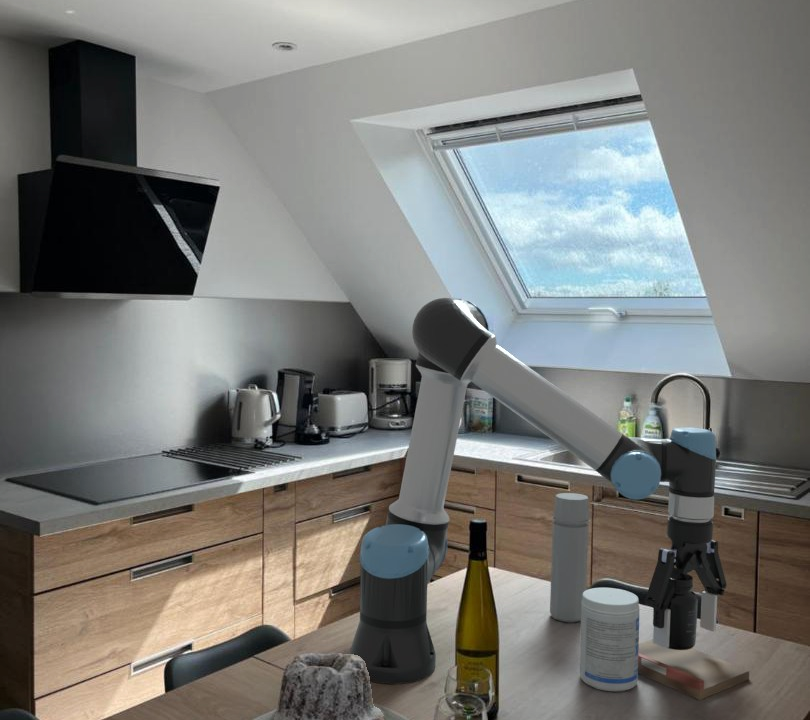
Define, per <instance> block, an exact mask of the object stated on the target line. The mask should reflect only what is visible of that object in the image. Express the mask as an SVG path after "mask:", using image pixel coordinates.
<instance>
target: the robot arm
mask: <svg viewBox="0 0 810 720" xmlns="http://www.w3.org/2000/svg"><path fill="white" fill-rule="evenodd" d="M488 323H489V322H488V320H487V318H486V315H485V314H484V313H483V311H482V309H480V308H479V307H478V306H477V305H476V304H474V302H471V301H470V300H465V299H463V298H455V297H453V298H452V297H451V298H450V297H441V298H440V297H439V298H436V299H434V300H433V299H432V300H431V301H428V302H427V303H426V304H424V305H423V306H422V307H421V308H420V309H419V311H418V312H417V313H416V315H415V317H414V319H413V323H412V339H413V342H414V344H415V347H416V349H417V350H418V352H417V356H416V362H415V367H416V369H417V370H418V372H419V373H420V376H421V380H420V384H419V385H420V386H419V390H418V396H417V400H416V405H415V412H414V417H413V422H412V428H411V433H410V438H409V443H408V449H407V453H406V459H405V465H404V469H403V470H404V471H403V475H402V481H401V487H400V489H399V490H400V492H399V497H398V499H397V500H396V501H394V502H392V503H391V504H389V507H388V512H387V516H386V520H385V521H386V522H385V525H381V527H380V526H379V527H378V526H377V527H374V528H372V529H370V530H369V531H368V532H367V533H366V534H365V535H364V536H363V538H362V540H361V545H360V550H359V551H360V552H359V561H360V577H359V578H360V581H359V582H360V583H359V584H360V585H359V586H360V587H359V588H360V590H359V622H358V626H357V627H356V631H355V633H354V637H353V641H352V645H351V646H350V649H349V652H348V655H349V654H354V655H358V656H360V657H361V658H362V659H363V660H364V661H365V663H366V667H367V670H368V672H369V676H370V680H371V681H370V680H369V681H370V682H375V683H381V684H392V685H394V684H406V683H407V684H408V683H412V682H416V681H419V680H423V679H425V678H427V677H429V676H430V675H431V674H432V673H433V672H434V671H435V669H436V661H437V660H436V658H437V656H436V655H437V653H436V649H435V646H434V643H433V640H432V637H431V633H430V630H429V626H428V622H427V615H428V613H427V612H428V611H427V610H428V609H427V606H428V584H429V582H430V581H431V579H432V578H433V577H434V575H435V573H436V572H437V571H438V570H439V569H440V567H441V566H442V565H443V563H444V561H445V559H446V556H447V551H448V537H447V533H448V530H449V529H448V528H449V523H450V516H449V514H448V513H447V511H446V509H445V508H444V507H445V503H446V502H445V501H446V497H447V493H448V485H449V481H450V477H451V476H450V475H451V470H452V466H453V461H454V455H455V451H456V446H457V440H458V434H459V429H460V424H461V418H462V414H463V408H464V403H465V398H466V393H467V389H468V385H469V384H470V383H473V384H475V386H477V387H479V388H480V389H482V390H483V391H484V392H485V393H487V394H488V395H489V396H490V397H492V398H493V399H495V400H496V401H498V402H499V403H501V404H502V405H503V406H505V407H506V408H508V409H509V410H510V411H512V413H514V414H516V415H517V416H519V417H520V418H522V419H523V420H524V421H526V422H527V423H528V424H530V425H532V426H533V427H534V428H536V429H537V430H538V431H540V432H541V433H542V434H544V435H546V436H547V437H548V438H550V439H551V440H552V441H554V442H555V443H556V444H558V445H560V446H561V447H562V448H563V449H565V450H566V451H567V452H569V453H571V454H572V455H573V456H575V457H576V458H577V459H579V460H580V461H581V462H582V463H585V464H586V465H587V466H589V467H590V468H591V469H593V470H594V471H595V472H596V473H598V474H599V475H600V476H601V477H602V478H604V479H606V480H607V481H608V482H610V483H611V484H612V486H613V487H614V488H615V490H616V491H617V492H618V493H619V494H620V495H622V496H623V497H625V498H628V499H630V500H642V499H643V500H644V499H646V498H648V497H650V496H651V495H653V494H654V493H655V492H656V491H657V490H658V487H659V485H660V483H665V482H666V483H668V507H667V511H668V514H669V516H668V517H667V522H666V523H667V525H666V526H667V528H666V535H667V538H668V539H670V541H671V547H670V549H666V548H659V550H658V555H657V563H656V565H655V568H654V572H653V575H652V578H651V581H650V584H649V586H648V589H647V593H646V596H645V599H644V604H645V605H646V606H649V607H652V609H653V613H652V614H653V615H652V617H653V618H652V624H653V637H652V638H653V639H652V640H653V643H655V644H657V645H660V646H662V647H665V648H668V647H669V636H670V612H671V610H670V609H667V607H668V605H669V603H670V601H671V599H672V597H673V595H674V593H675V591H676V590H675V583H676V581H674V582H673V581H672V582H670V581H669V579H670V577H671V578H674V579H679V578H682V577H685V576H686V575H687V574H688V573H691V572H693V571H695V573H696V575H697V577H698V579H699V581H700V583H701V584H702V587H703V588H704V591H702V592H701V599H700V601H701V603H700V604H701V605H700V624H699V625H700V626H699V627H700V628H701V629H704V630H706V631H707V630H708V631H710V632H712V633H713V632H716V631H717V614H718V613H717V611H718V602H719V600H718V598H719V595H720V596H724V594H725V589H726V588H727V586H728V585H727V581H726V577H725V574H724V573H725V572H724V569H723V567H722V566H723V565H722V563H721V558H720V554H719V542H718V541H717V540H714V539H713V536H714V535H713V532H714V522H713V520H712V519H713V518H714V516H715V486H716V485H715V483H716V469H717V440H716V439H717V436H716V435H715V433H714V432H713V431H711V430H709V429H707V428H706V429H705V428H699V427H675V428H673V429H672V430H671V432H670V433H671V434H670V436H669V438H651V437H650V438H649V437H648V438H647V437H637V436H636V437H633V436H632V437H631V436H626V435H624V434H623V433H622V432H621V431H619V430H618V429H616V428H615V427H613V425H611V424H609V423H608V422H607V421H605V420H603V418H601V417H599V416H598V415H597V414H595V413H594V412H593V411H591V410H590V409H588V408H587V407H585V406H584V405H583V404H581V403H580V402H578V401H577V400H576V399H574V398H573V397H571V396H570V395H568V393H566V392H564V390H561V389H560V388H559V387H557V386H556V385H555V384H553V383H552V382H550V381H549V380H547V378H545V377H543V376H542V375H541V374H539V373H538V372H536V371H535V370H533V369H532V368H531V367H530V366H528V365H527V364H525V363H524V362H522V361H521V360H519V359H518V358H516V357H515V356H513V354H511V353H509V352H508V351H507V350H505V349H504V348H503V347H501V346H500V345H498V343H497V337H496V335H494V333H492V332H491V331H490V328H489V324H488ZM662 601H663V602H662Z"/></svg>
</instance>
